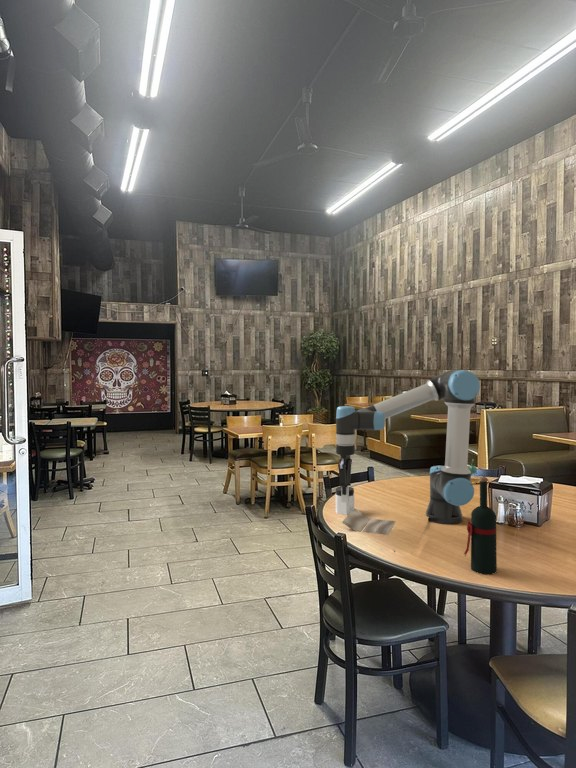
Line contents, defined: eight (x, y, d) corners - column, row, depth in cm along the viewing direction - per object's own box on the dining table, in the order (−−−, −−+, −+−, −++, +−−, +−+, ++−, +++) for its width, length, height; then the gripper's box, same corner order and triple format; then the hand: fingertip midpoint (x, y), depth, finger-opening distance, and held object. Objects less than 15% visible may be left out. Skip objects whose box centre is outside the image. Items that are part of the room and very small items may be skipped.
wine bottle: (460, 564, 162) (460, 475, 161) (491, 564, 161) (491, 475, 161) (467, 574, 154) (467, 480, 153) (500, 574, 154) (500, 480, 153)
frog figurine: (493, 485, 271) (490, 459, 271) (459, 487, 275) (456, 462, 275) (489, 481, 281) (486, 456, 281) (456, 483, 284) (453, 458, 284)
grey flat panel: (398, 524, 205) (398, 520, 205) (389, 539, 187) (389, 535, 187) (345, 518, 214) (345, 515, 214) (331, 532, 195) (331, 529, 195)
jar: (343, 518, 213) (342, 491, 213) (331, 514, 220) (331, 488, 220) (358, 515, 218) (358, 488, 218) (346, 511, 225) (346, 485, 224)
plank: (369, 520, 209) (370, 518, 208) (359, 534, 192) (360, 531, 192) (353, 510, 211) (354, 508, 211) (342, 522, 195) (343, 520, 194)
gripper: (340, 441, 205) (340, 497, 205) (331, 446, 193) (331, 505, 193) (358, 442, 202) (357, 499, 203) (350, 447, 190) (349, 507, 190)
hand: (345, 502), depth 198 cm, fingers closed
